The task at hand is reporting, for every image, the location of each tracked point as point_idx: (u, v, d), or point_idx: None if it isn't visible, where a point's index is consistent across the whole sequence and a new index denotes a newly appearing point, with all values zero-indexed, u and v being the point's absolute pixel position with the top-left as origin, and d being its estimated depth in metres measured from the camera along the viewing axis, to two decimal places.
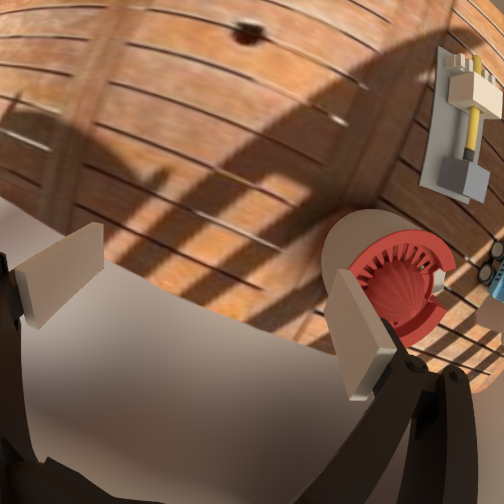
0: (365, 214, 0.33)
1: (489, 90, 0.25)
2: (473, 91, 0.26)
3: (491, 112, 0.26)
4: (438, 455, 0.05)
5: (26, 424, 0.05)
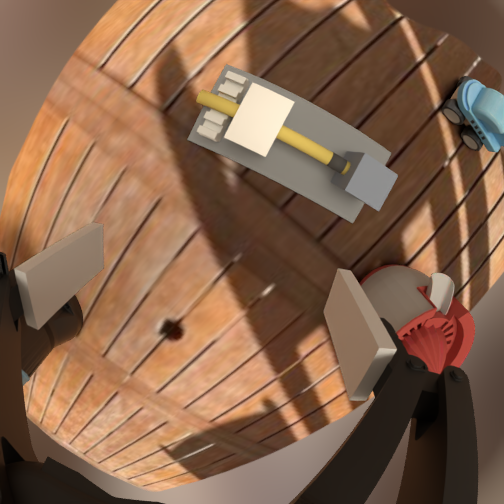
0: None
1: (251, 113, 0.28)
2: (254, 150, 0.29)
3: (284, 120, 0.28)
4: (438, 455, 0.05)
5: (26, 424, 0.05)
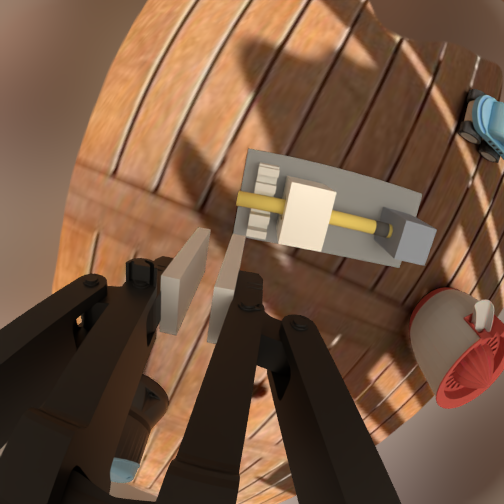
0: (417, 355, 0.37)
1: (298, 215, 0.30)
2: (309, 248, 0.32)
3: (330, 212, 0.30)
4: (307, 416, 0.06)
5: (116, 445, 0.06)
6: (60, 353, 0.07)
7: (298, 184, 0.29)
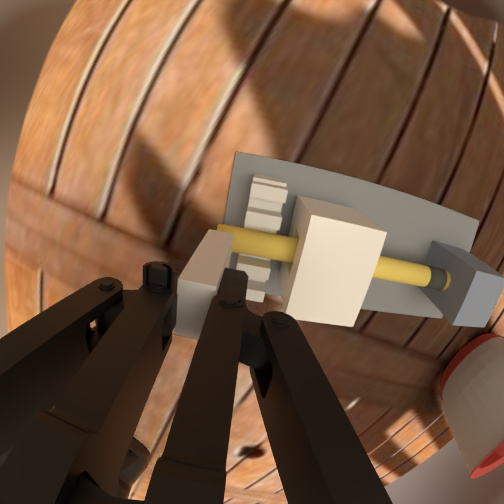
0: (451, 421, 0.24)
1: (321, 272, 0.17)
2: (334, 323, 0.19)
3: (374, 265, 0.17)
4: (290, 414, 0.06)
5: (126, 449, 0.06)
6: (72, 357, 0.07)
7: (323, 219, 0.16)
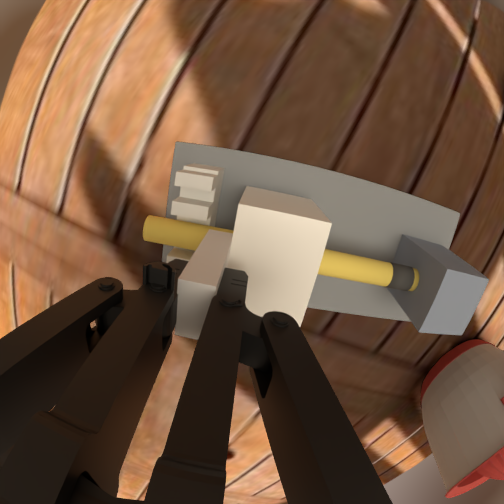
0: (428, 435, 0.23)
1: (254, 268, 0.16)
2: None
3: (319, 262, 0.16)
4: (290, 414, 0.06)
5: (126, 449, 0.06)
6: (72, 358, 0.07)
7: (252, 208, 0.15)
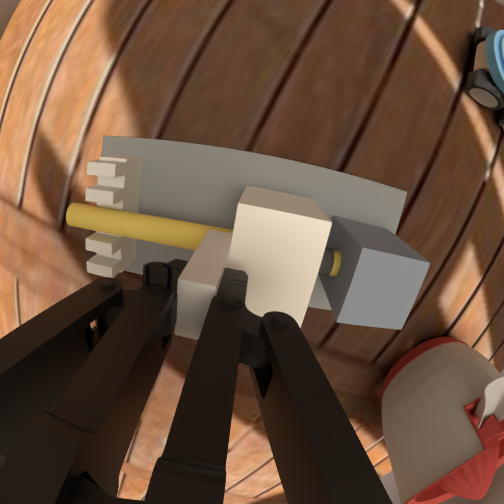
0: (385, 441, 0.22)
1: (254, 268, 0.16)
2: None
3: (320, 261, 0.16)
4: (290, 414, 0.06)
5: (126, 449, 0.06)
6: (72, 358, 0.07)
7: (252, 207, 0.14)
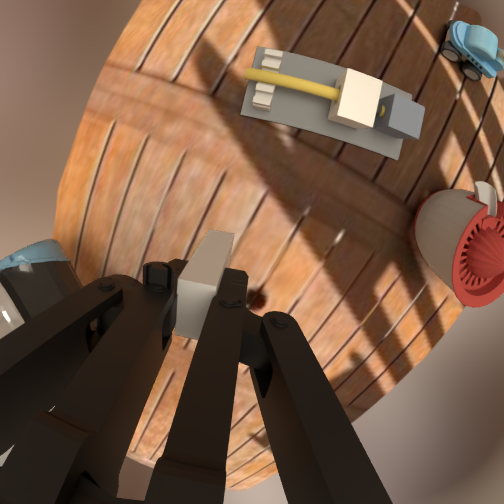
0: (424, 248, 0.37)
1: (353, 93, 0.31)
2: (362, 123, 0.32)
3: (378, 96, 0.30)
4: (290, 414, 0.06)
5: (126, 449, 0.06)
6: (72, 358, 0.07)
7: (353, 70, 0.29)
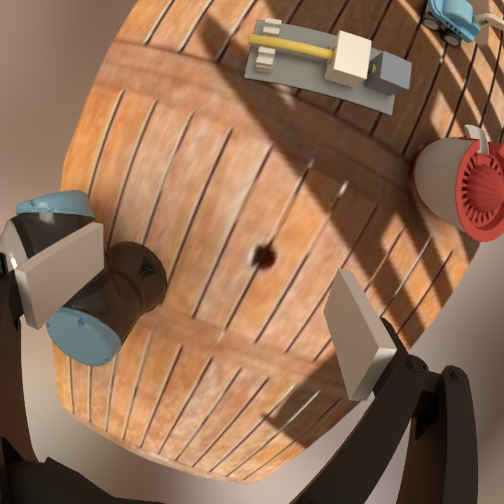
0: (426, 191, 0.38)
1: (347, 51, 0.31)
2: (357, 75, 0.33)
3: (369, 53, 0.31)
4: (438, 455, 0.05)
5: (26, 424, 0.05)
6: None
7: (344, 32, 0.30)
